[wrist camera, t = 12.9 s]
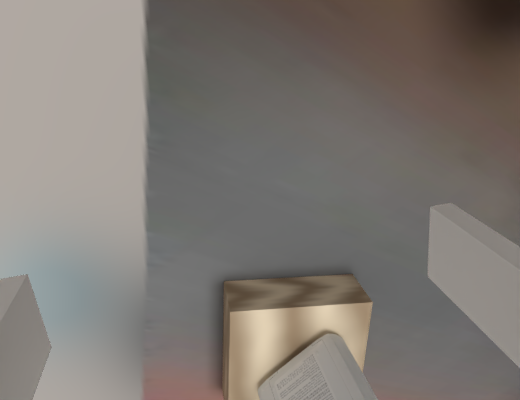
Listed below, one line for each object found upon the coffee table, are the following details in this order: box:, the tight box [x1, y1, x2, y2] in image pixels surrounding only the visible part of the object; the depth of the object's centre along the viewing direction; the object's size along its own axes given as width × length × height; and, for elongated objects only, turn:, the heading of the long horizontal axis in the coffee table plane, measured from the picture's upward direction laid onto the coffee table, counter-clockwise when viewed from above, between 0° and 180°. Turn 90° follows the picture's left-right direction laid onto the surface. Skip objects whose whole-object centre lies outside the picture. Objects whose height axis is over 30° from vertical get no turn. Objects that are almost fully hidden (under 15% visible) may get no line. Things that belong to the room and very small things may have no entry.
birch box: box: [222, 274, 373, 400], centre depth 49 cm, size 14×14×6 cm
